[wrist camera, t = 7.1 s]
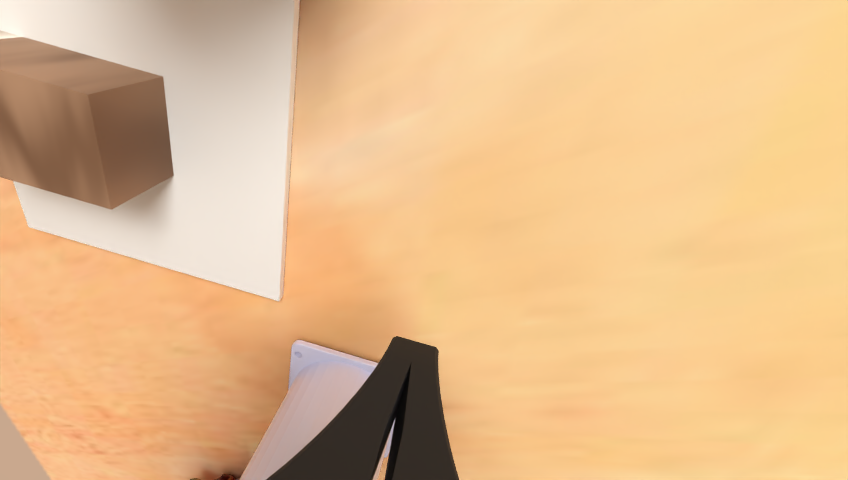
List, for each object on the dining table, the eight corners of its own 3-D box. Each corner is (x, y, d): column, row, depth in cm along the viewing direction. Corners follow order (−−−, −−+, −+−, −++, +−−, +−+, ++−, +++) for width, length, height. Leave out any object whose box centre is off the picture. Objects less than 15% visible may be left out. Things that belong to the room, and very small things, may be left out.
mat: (282, 296, 25) (279, 301, 25) (36, 223, 26) (28, 226, 25) (303, -60, 16) (297, -62, 15) (-90, -167, 16) (-106, -171, 16)
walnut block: (111, 209, 18) (-60, 159, 18) (173, 175, 22) (29, 133, 22) (87, 94, 15) (-112, 37, 16) (163, 76, 19) (-2, 29, 19)
